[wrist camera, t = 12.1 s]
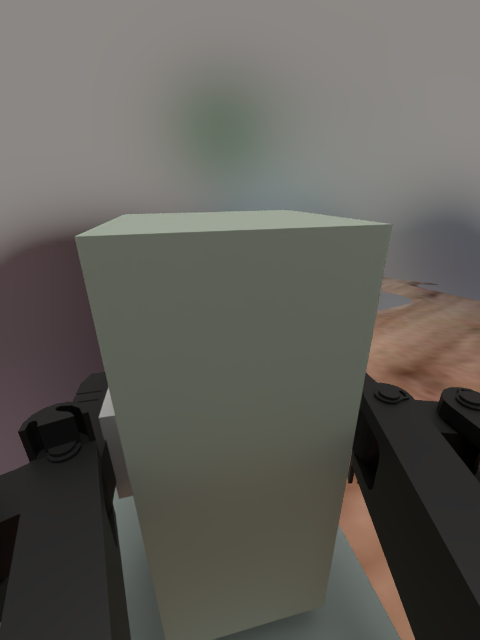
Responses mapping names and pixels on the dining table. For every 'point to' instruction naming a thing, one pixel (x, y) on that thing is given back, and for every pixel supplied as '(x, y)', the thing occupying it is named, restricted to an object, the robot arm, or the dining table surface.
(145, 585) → the slate top block
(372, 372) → the dining table surface
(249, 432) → the sage pillar block
